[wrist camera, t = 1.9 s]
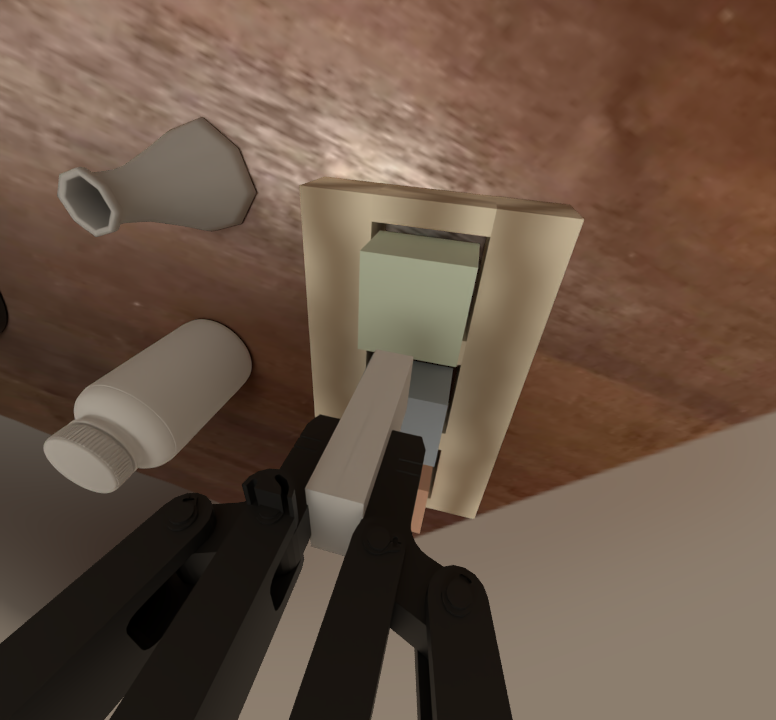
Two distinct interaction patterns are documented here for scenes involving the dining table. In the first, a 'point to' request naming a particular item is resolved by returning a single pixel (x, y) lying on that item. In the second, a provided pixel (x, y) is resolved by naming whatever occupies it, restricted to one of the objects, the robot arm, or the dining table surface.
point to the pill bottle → (150, 406)
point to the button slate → (427, 405)
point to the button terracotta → (421, 498)
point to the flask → (165, 185)
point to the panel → (484, 323)
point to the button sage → (415, 295)
